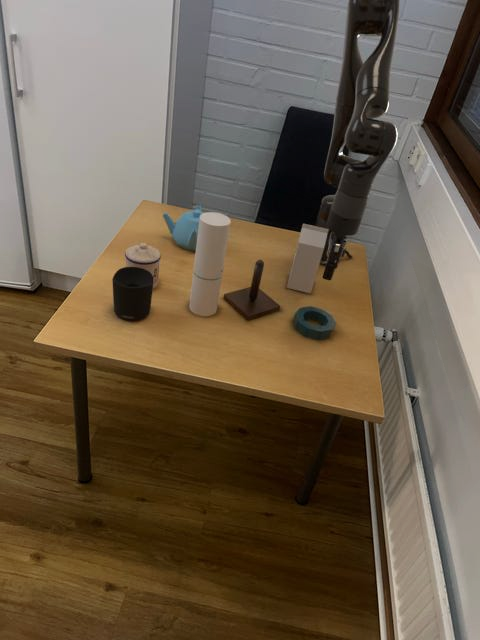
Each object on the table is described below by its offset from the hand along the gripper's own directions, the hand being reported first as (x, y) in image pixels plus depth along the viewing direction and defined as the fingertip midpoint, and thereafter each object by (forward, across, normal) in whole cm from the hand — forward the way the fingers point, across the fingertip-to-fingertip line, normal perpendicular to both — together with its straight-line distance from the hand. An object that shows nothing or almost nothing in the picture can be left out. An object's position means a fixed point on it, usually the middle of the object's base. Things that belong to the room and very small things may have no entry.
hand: (327, 271), depth 117 cm
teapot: (+15, -24, -42) cm, 51 cm away
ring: (+15, +4, 0) cm, 15 cm away
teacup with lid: (+15, +4, -47) cm, 50 cm away
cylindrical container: (+15, +9, -28) cm, 33 cm away
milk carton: (+15, -15, -6) cm, 22 cm away
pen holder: (+15, +18, -44) cm, 50 cm away
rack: (+15, +1, -17) cm, 23 cm away
